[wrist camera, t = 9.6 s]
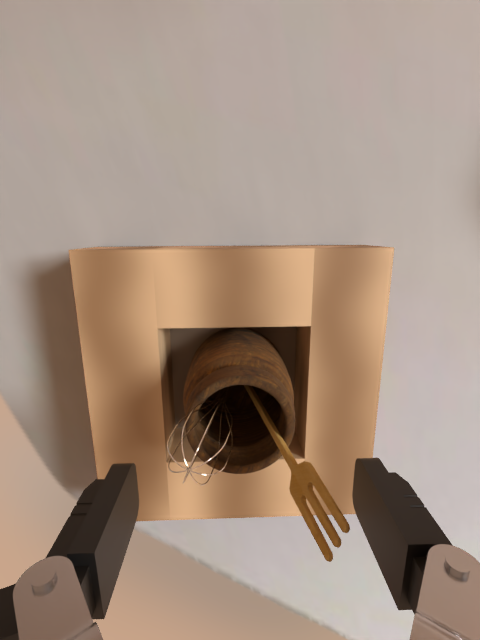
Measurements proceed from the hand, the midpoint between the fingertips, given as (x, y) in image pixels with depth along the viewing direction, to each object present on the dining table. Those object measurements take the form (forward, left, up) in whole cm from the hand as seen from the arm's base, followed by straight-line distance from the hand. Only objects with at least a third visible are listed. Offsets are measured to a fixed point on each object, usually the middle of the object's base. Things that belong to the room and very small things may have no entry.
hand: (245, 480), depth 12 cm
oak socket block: (0, 0, -11) cm, 11 cm away
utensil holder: (0, 0, -10) cm, 10 cm away
